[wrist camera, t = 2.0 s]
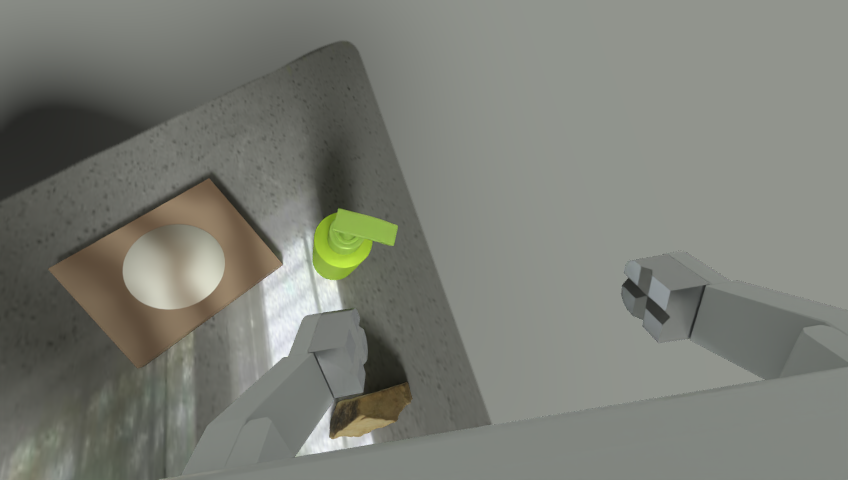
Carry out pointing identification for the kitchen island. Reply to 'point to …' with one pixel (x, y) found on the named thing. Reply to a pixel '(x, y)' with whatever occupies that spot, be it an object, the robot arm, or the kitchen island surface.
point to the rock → (369, 411)
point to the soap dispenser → (347, 242)
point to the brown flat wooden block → (167, 271)
